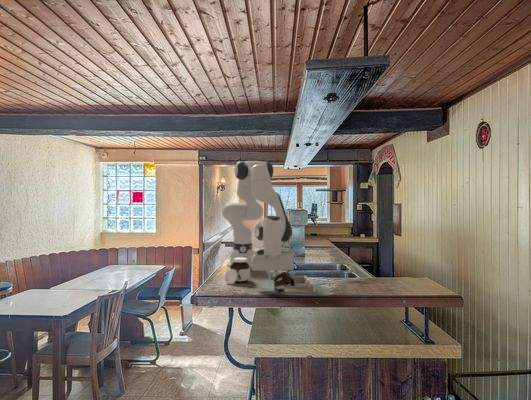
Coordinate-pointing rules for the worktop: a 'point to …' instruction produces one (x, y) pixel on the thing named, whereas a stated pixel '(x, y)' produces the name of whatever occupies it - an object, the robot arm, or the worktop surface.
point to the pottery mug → (283, 280)
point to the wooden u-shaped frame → (309, 288)
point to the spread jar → (238, 271)
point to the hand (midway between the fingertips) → (272, 279)
